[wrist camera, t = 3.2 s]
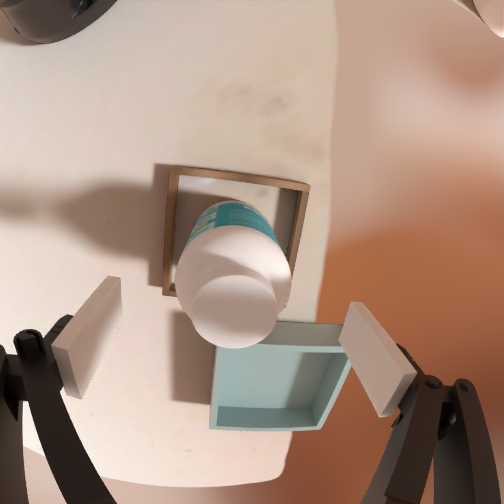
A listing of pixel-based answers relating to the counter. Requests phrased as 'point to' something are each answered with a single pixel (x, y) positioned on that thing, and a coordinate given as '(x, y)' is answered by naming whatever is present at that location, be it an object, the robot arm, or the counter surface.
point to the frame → (176, 171)
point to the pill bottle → (233, 275)
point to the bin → (279, 380)
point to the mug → (492, 14)
